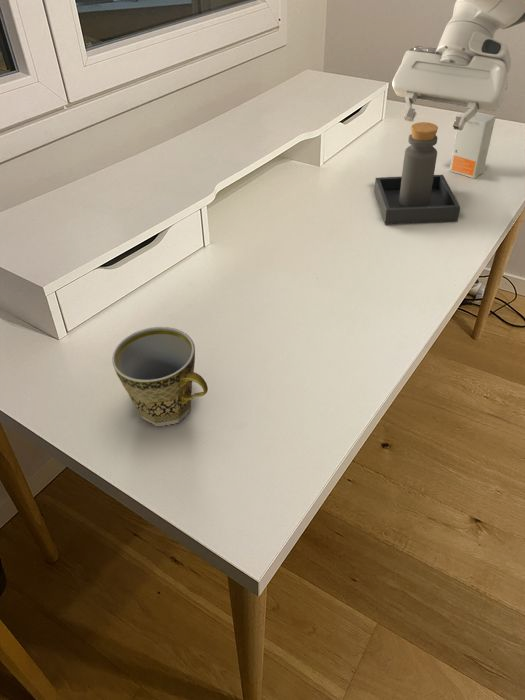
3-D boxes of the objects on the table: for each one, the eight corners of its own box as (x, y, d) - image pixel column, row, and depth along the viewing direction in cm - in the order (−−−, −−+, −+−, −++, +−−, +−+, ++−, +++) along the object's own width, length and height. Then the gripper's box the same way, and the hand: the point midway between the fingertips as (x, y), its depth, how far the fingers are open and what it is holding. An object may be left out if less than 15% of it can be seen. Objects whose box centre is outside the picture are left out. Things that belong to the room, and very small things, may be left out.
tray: (440, 188, 120) (443, 174, 118) (457, 221, 110) (460, 206, 108) (374, 191, 120) (375, 177, 118) (384, 225, 110) (386, 210, 108)
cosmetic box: (448, 171, 125) (458, 115, 118) (458, 165, 128) (468, 109, 120) (474, 179, 122) (486, 122, 114) (484, 172, 125) (496, 115, 117)
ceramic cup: (112, 417, 77) (94, 361, 70) (163, 372, 83) (151, 317, 76) (188, 460, 71) (176, 403, 64) (236, 408, 77) (230, 352, 70)
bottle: (398, 195, 117) (407, 120, 107) (428, 196, 116) (439, 120, 106) (399, 210, 113) (408, 133, 103) (430, 210, 112) (442, 133, 102)
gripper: (404, 35, 108) (375, 106, 108) (517, 47, 98) (484, 125, 99) (412, 54, 113) (384, 122, 114) (519, 68, 104) (488, 142, 104)
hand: (432, 124), depth 106 cm, fingers open, 8 cm apart
